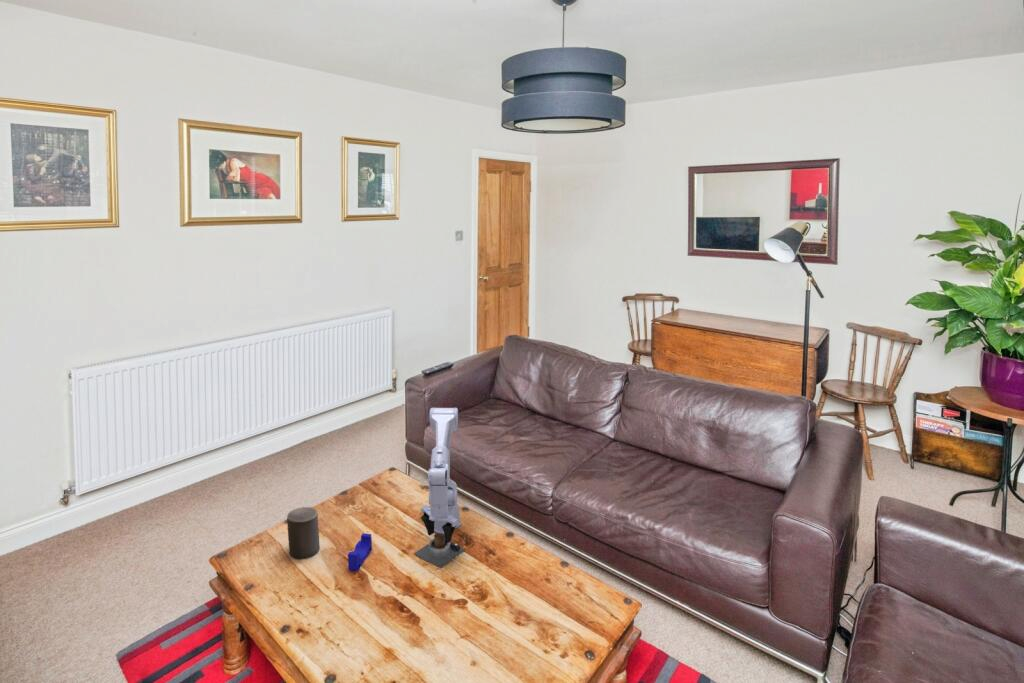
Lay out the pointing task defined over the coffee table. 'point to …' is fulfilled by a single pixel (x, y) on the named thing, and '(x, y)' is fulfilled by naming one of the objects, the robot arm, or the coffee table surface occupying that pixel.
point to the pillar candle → (303, 532)
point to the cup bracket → (439, 553)
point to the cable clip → (360, 552)
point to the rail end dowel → (439, 540)
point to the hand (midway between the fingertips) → (439, 537)
